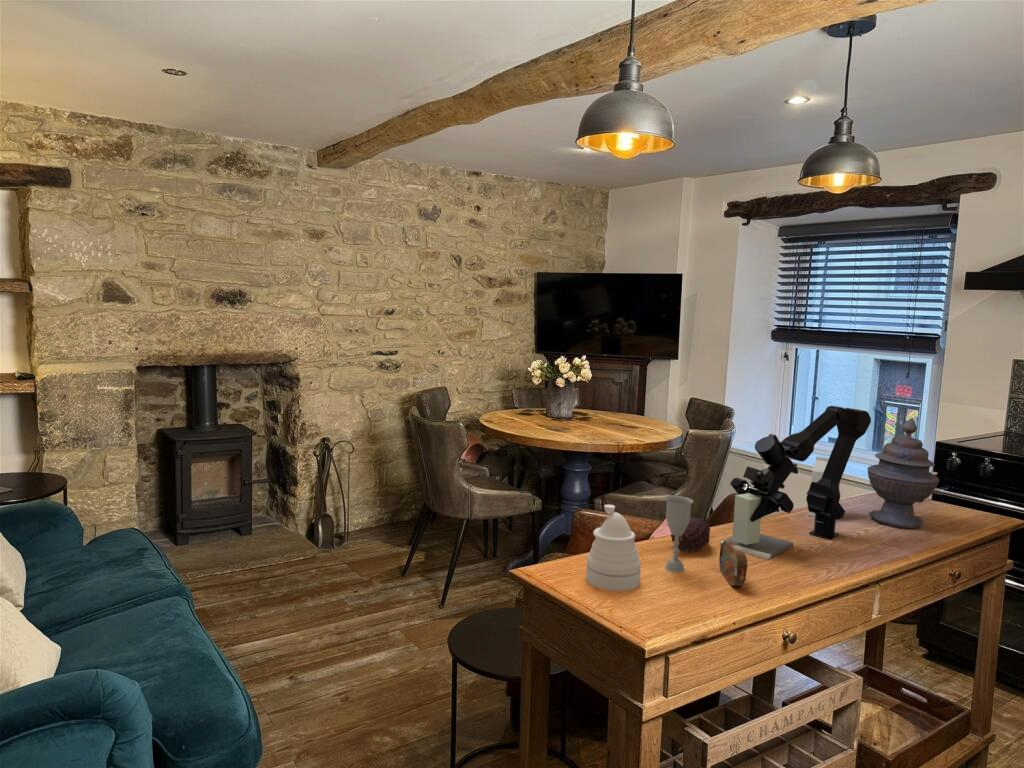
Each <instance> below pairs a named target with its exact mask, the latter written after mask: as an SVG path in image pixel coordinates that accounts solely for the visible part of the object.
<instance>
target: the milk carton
mask: <svg viewBox="0 0 1024 768" xmlns="http://www.w3.org/2000/svg"><path fill="white" fill-rule="evenodd" d="M828 460H829V457H828V458H827V457H823V456H822V457H821V456H815V461H814V464H813V467H812V471H811V480H810V484H811V483H812V482H818V481H819V480H820V479H821V478H822V475H823V473H824V470H825V468H826V465H827V462H828ZM840 483H841V482H840ZM840 483H839V488H840ZM808 516H809V517H810V516H811V517H815V513H813V512H809V511H808Z"/></svg>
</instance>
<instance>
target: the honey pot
mask: <svg viewBox="0 0 1024 768" xmlns="http://www.w3.org/2000/svg"><path fill="white" fill-rule="evenodd" d="M603 507H604V511H605V513H606V514H608V516H607V517H606V518H605V520H604V521H603V523H602V525H601V526H599V527H596V528H595V529H594V530H593V532H592V534H593V536H594V537H595V538H594V541H593V542H592V544H591V548H590V551H589V554H588V555H587V558H586V560H587V561H586V574H585V579H586V581H587V582H588V584H590V585H591V586H593V587H594V588H597V589H600V590H604V591H609V592H610V591H611V592H612V591H613V592H626V591H631V590H634V589H637V588H638V587H639V586H640V584H641V572H642V571H641V568H642V567H641V564H642V561H641V558H640V557H639V552H638V547H637V545H636V543H635V538H636V533H635V532H634V531H632V529H631V528H630V526H629V523H628V522H627V520H626V519H625V517H624V516H623V515H622V514H621V513H619V512H617V511H615V509H616V506H615V505H614V504H604V506H603Z"/></svg>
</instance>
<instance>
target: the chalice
mask: <svg viewBox="0 0 1024 768" xmlns="http://www.w3.org/2000/svg"><path fill="white" fill-rule="evenodd" d="M664 500H665V502H666V505H665V506H666V511H665V519H666V523H667V526H668V529H669V530H670V535H671V534H673V535H675V540H674V541H673V548H672V552H673V556H672V557H671V558H669V559H668V560H667V562H666V565H665V566H664V569H665V570H666V571H668V572H671V573H677V574H678V573H684V572H685V571H686V569H685V567H684V564H683V561H682V559H680V558H679V557H678V555H679V552H680V549H679V548H678V545H679V544H680V543H679V540H678V538H679V536H681V535H683V533H684V532H685V530H686V528H687V526H688V524H689V521H690V517H691V514H692V513H691V511H692V505H693V503H694V500H693V499H692V498H690V497H687V496H682V495H668V496H665V497H664Z"/></svg>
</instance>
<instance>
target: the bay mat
mask: <svg viewBox="0 0 1024 768" xmlns="http://www.w3.org/2000/svg"><path fill="white" fill-rule="evenodd" d="M724 541H727V542H734V543H736V544H737V545H738V546H739V548H740V549H741V550H742V551H743V552H744V553H745V554H748V555H751V556H754V557H758V558H760V559H764V560H769V559H772V558H774V557H776V556H777V554H778V555H779V554H781V553H783V552H785V551H787V550H788V548H789V549H790V547H791V548H792V547H794V542H793V541H789V540H784V539H782V538H777V537H773V536H770V535H766V534H762V533H760V539H759V542H758V543H753V544H747V545H745V544H743V543H741V542H738V541H736V540H734V539H732V536H730V537H728V538H726V539H724V540H721V541H720V542H719V546H720V547H721V545H722V543H723V542H724Z"/></svg>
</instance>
